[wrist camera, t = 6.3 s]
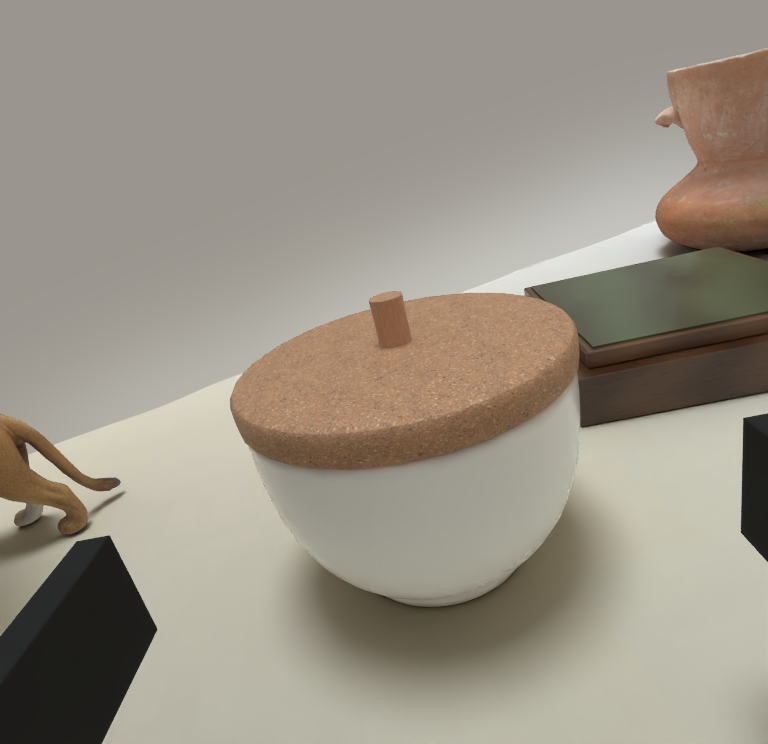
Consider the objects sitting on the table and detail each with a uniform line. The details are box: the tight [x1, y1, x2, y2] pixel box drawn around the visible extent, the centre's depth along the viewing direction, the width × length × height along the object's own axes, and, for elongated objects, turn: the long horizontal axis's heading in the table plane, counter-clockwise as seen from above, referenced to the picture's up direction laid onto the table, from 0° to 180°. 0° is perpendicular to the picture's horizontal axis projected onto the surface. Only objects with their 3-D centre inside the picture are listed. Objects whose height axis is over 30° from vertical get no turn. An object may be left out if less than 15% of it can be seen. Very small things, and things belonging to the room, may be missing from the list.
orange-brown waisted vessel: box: [655, 48, 768, 251], centre depth 41 cm, size 18×14×14 cm
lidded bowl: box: [230, 291, 580, 607], centre depth 18 cm, size 11×11×9 cm
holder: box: [524, 247, 768, 427], centre depth 30 cm, size 14×14×3 cm
